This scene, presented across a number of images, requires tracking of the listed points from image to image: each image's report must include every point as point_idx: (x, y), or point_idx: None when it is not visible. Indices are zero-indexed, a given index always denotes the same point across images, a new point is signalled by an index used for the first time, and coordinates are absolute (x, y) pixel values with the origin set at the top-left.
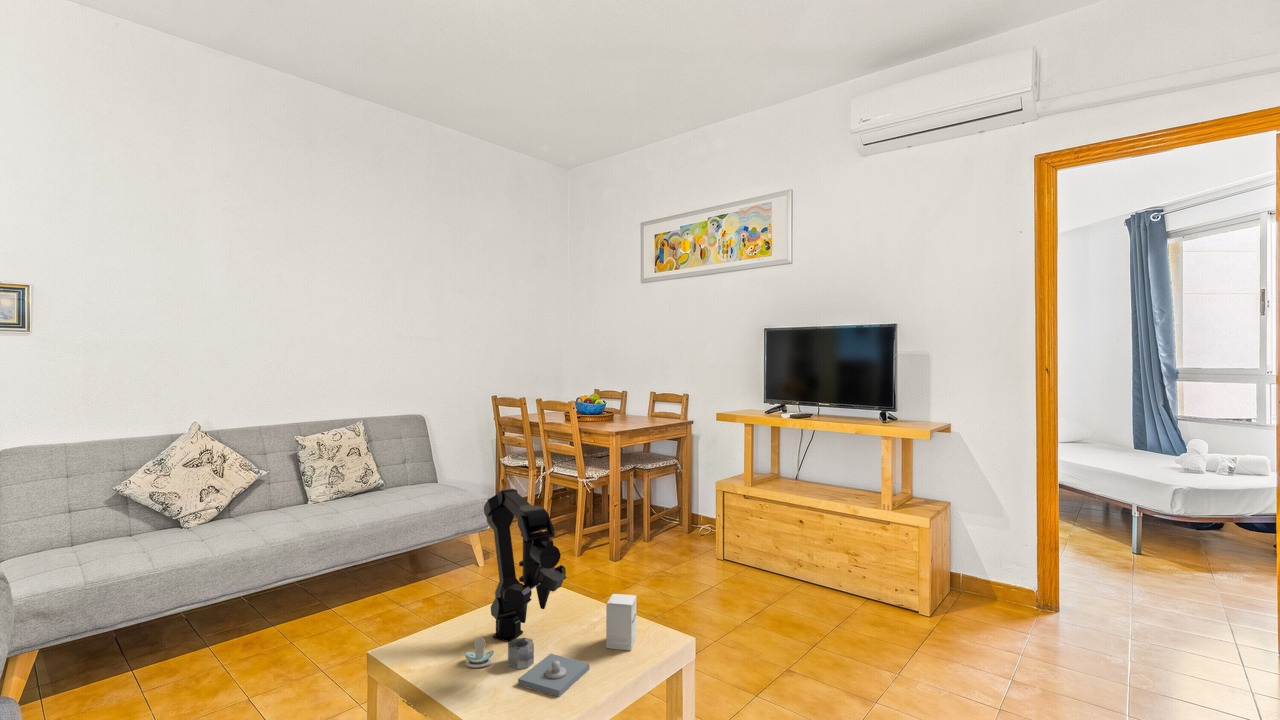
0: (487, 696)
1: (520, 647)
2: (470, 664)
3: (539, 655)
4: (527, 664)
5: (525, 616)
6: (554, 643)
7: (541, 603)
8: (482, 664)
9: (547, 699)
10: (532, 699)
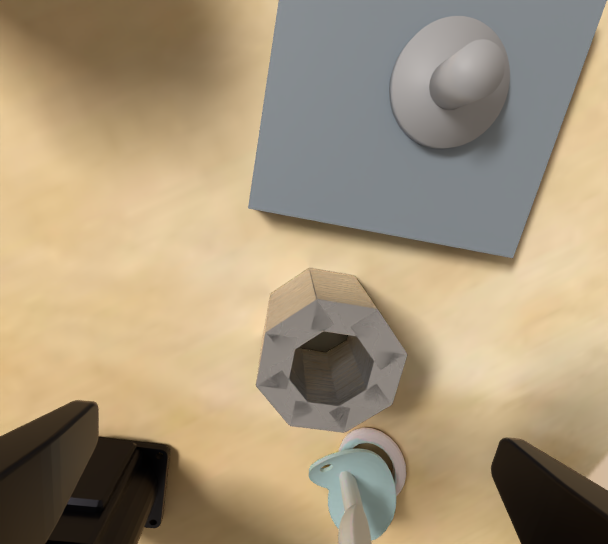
0: (583, 326)
1: (373, 352)
2: (398, 485)
3: (233, 273)
4: (358, 281)
5: (592, 496)
6: (94, 254)
7: (52, 493)
8: (390, 449)
9: (600, 65)
10: (601, 138)
